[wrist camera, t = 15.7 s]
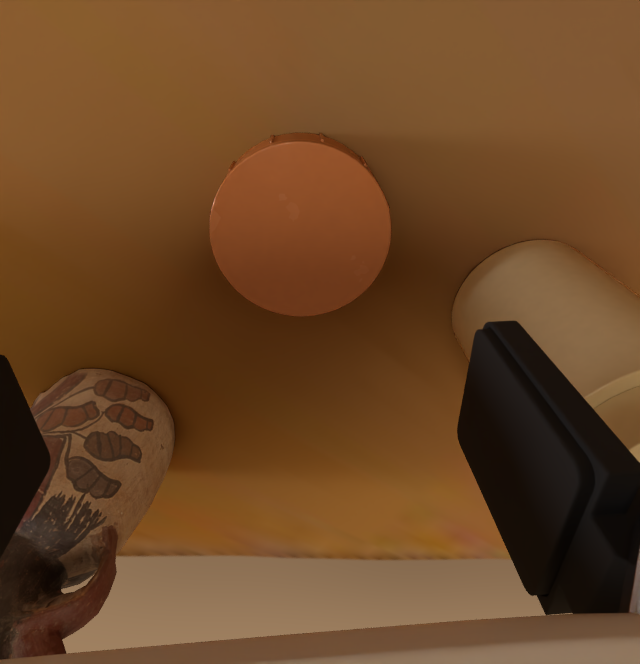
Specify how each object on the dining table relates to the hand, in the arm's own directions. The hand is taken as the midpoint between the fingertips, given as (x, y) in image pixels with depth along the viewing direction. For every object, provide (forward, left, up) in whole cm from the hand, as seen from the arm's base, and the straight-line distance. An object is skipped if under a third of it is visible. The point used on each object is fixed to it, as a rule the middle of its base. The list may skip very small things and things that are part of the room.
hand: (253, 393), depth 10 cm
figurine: (-13, -4, -11) cm, 18 cm away
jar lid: (+1, -1, -10) cm, 9 cm away
